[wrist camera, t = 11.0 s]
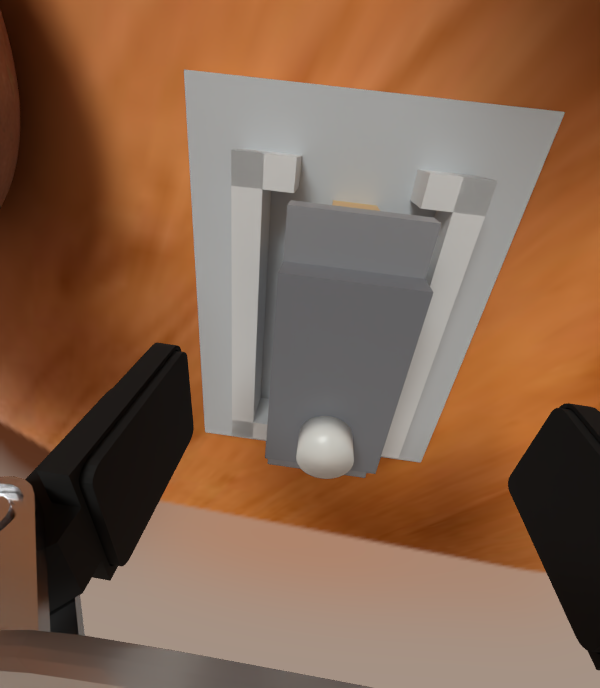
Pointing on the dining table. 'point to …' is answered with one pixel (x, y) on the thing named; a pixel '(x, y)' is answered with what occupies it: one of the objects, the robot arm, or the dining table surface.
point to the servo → (344, 333)
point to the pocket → (357, 187)
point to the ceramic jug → (8, 114)
